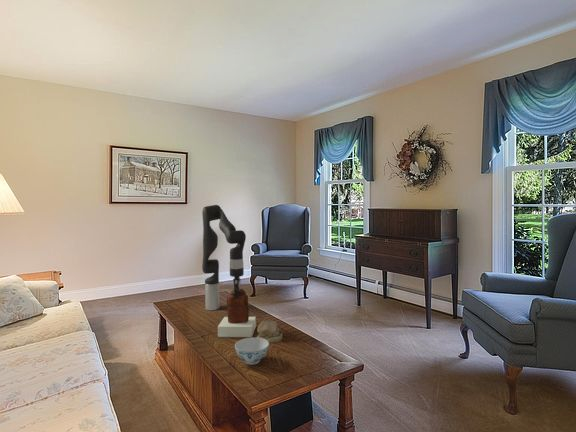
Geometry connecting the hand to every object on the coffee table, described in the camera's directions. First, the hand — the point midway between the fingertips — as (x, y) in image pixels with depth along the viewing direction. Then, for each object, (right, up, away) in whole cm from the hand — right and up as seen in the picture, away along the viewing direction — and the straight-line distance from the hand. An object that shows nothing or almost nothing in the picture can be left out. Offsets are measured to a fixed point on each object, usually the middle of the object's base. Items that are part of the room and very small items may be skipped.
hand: (237, 296), depth 185 cm
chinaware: (+12, -21, -35) cm, 43 cm away
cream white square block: (0, -20, +1) cm, 20 cm away
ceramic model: (+18, -20, -9) cm, 28 cm away
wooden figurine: (0, -14, 0) cm, 14 cm away
